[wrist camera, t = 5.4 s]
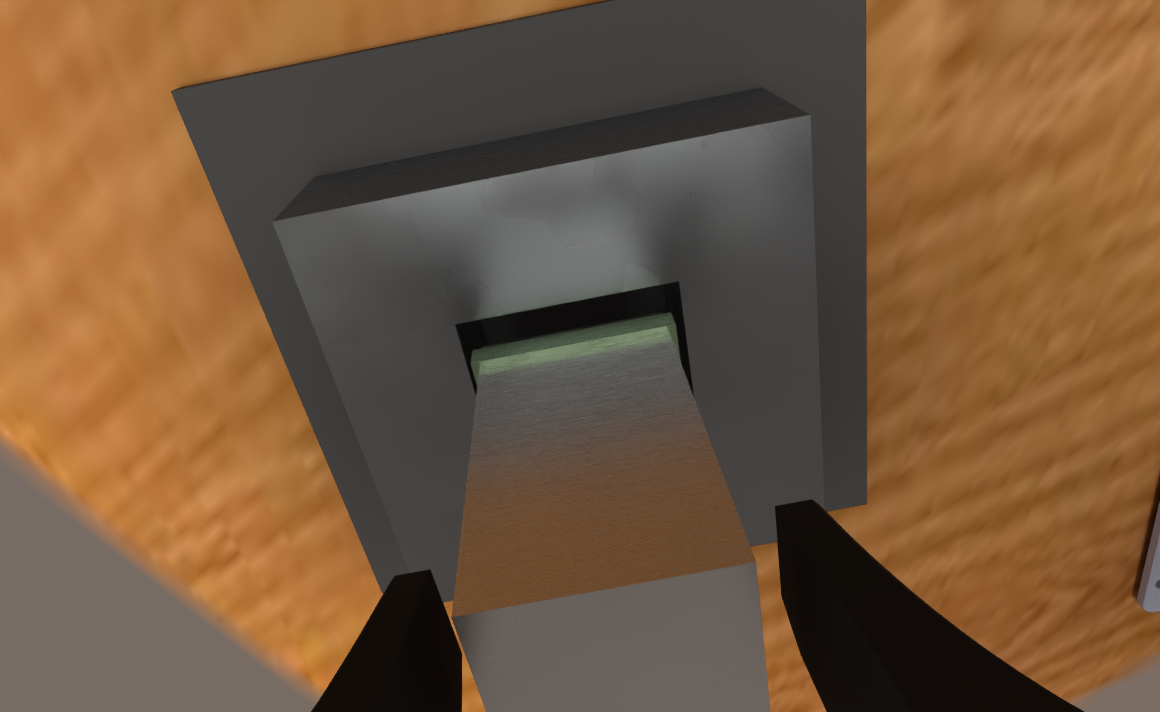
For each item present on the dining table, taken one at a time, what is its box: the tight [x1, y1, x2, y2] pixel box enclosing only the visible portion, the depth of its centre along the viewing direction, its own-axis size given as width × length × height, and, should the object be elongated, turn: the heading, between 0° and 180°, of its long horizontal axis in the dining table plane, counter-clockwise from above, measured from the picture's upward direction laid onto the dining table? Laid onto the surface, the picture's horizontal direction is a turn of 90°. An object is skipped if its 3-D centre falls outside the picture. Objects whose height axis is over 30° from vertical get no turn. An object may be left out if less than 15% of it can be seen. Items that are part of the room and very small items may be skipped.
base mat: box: [171, 0, 867, 593], centre depth 21 cm, size 16×16×1 cm
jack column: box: [452, 312, 770, 712], centre depth 14 cm, size 4×4×8 cm
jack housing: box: [272, 87, 825, 602], centre depth 19 cm, size 11×11×4 cm
